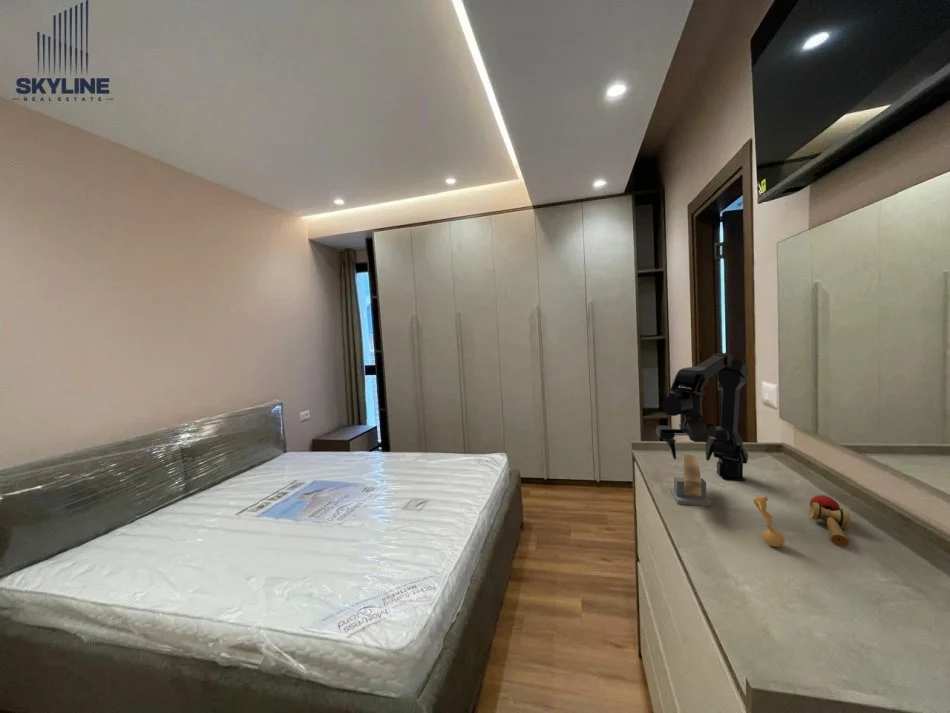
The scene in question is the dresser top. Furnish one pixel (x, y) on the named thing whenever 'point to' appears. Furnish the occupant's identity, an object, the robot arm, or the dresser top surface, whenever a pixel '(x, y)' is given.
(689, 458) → the plank
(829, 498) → the kendama
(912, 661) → the dresser top surface
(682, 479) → the grey stepped block
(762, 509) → the figurine
